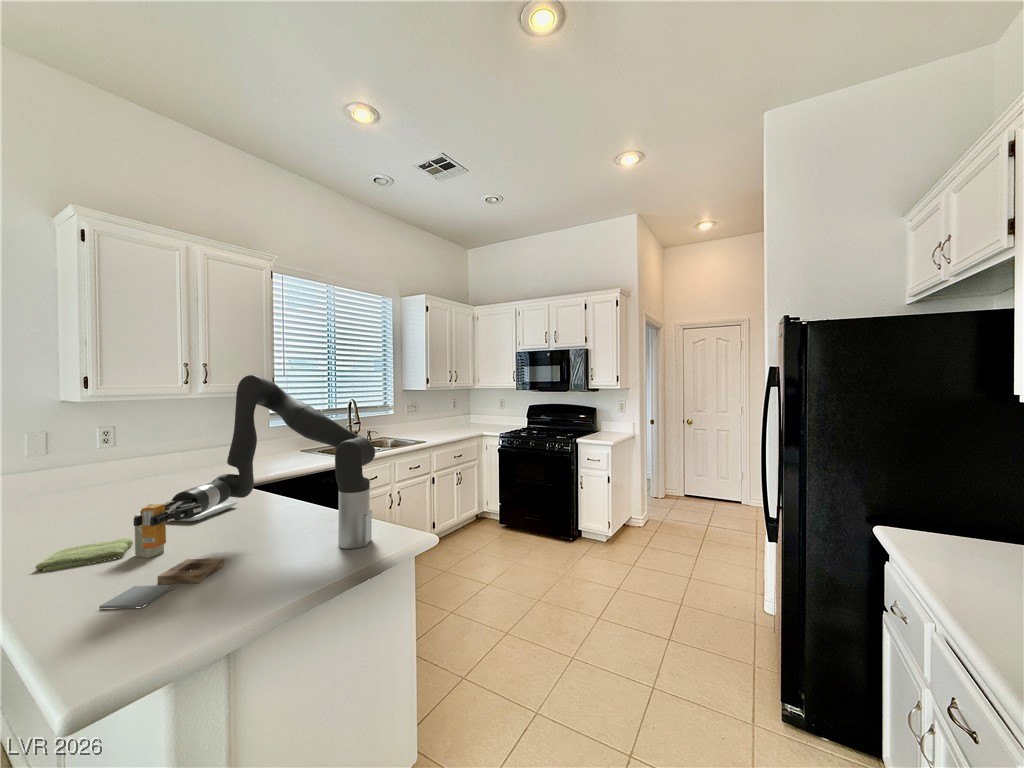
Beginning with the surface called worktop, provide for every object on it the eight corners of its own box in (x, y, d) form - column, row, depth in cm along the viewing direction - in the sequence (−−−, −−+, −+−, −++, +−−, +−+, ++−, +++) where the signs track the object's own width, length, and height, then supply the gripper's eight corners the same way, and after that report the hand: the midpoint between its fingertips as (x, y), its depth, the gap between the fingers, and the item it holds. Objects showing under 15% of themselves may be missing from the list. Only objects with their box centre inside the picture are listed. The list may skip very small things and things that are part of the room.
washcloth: (53, 558, 119) (53, 547, 119) (134, 545, 128) (134, 535, 128) (32, 575, 108) (33, 563, 108) (123, 560, 117) (123, 549, 117)
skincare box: (164, 552, 122) (165, 512, 122) (147, 558, 118) (148, 516, 118) (150, 550, 124) (151, 509, 124) (133, 555, 120) (133, 514, 120)
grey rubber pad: (172, 588, 101) (172, 585, 101) (141, 608, 92) (141, 604, 92) (134, 589, 100) (134, 586, 100) (99, 609, 91) (99, 606, 91)
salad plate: (240, 507, 168) (240, 499, 168) (194, 525, 147) (194, 515, 147) (193, 505, 170) (193, 497, 170) (142, 523, 149) (142, 513, 149)
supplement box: (151, 543, 101) (152, 503, 101) (166, 543, 102) (166, 503, 101) (140, 549, 98) (141, 507, 98) (155, 549, 98) (156, 507, 98)
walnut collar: (224, 565, 113) (224, 558, 113) (198, 582, 103) (198, 575, 103) (186, 566, 113) (186, 559, 113) (157, 584, 103) (157, 576, 103)
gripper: (170, 487, 114) (112, 506, 96) (222, 487, 114) (173, 506, 97) (170, 514, 114) (112, 538, 96) (222, 513, 114) (174, 537, 97)
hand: (143, 521), depth 97 cm, fingers closed on supplement box, 3 cm apart
